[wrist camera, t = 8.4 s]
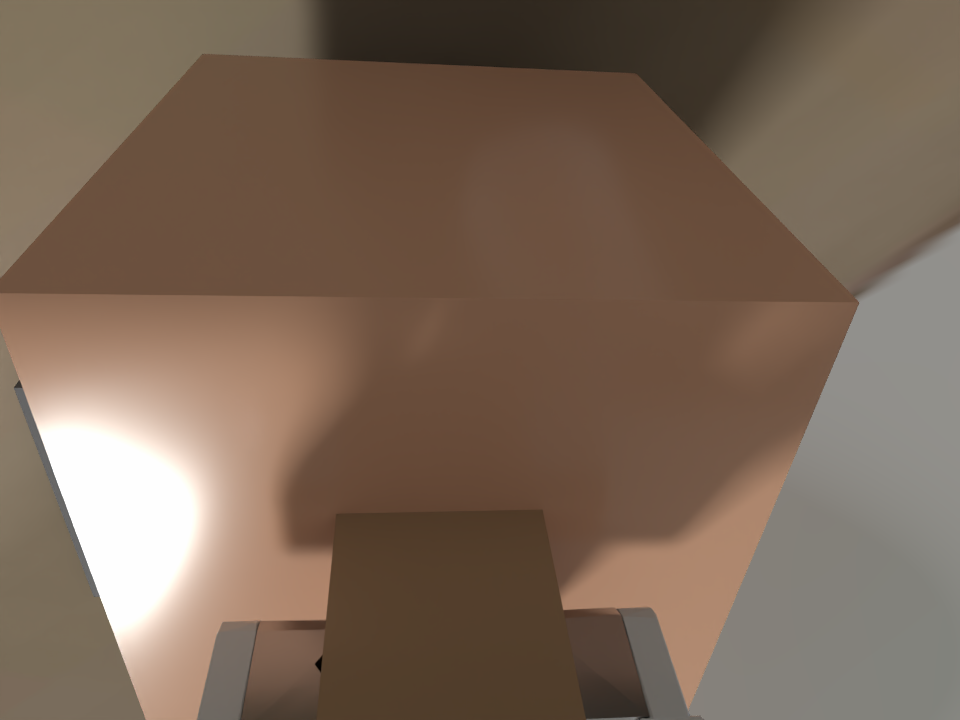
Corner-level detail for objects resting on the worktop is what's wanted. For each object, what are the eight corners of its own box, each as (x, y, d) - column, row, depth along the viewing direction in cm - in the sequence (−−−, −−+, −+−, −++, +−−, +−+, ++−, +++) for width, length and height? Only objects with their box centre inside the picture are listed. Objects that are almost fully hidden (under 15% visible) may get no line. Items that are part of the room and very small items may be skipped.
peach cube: (253, 402, 23) (88, 1038, 11) (202, 54, 17) (-290, 600, 5) (577, 400, 24) (755, 976, 12) (635, 73, 18) (1108, 559, 6)
